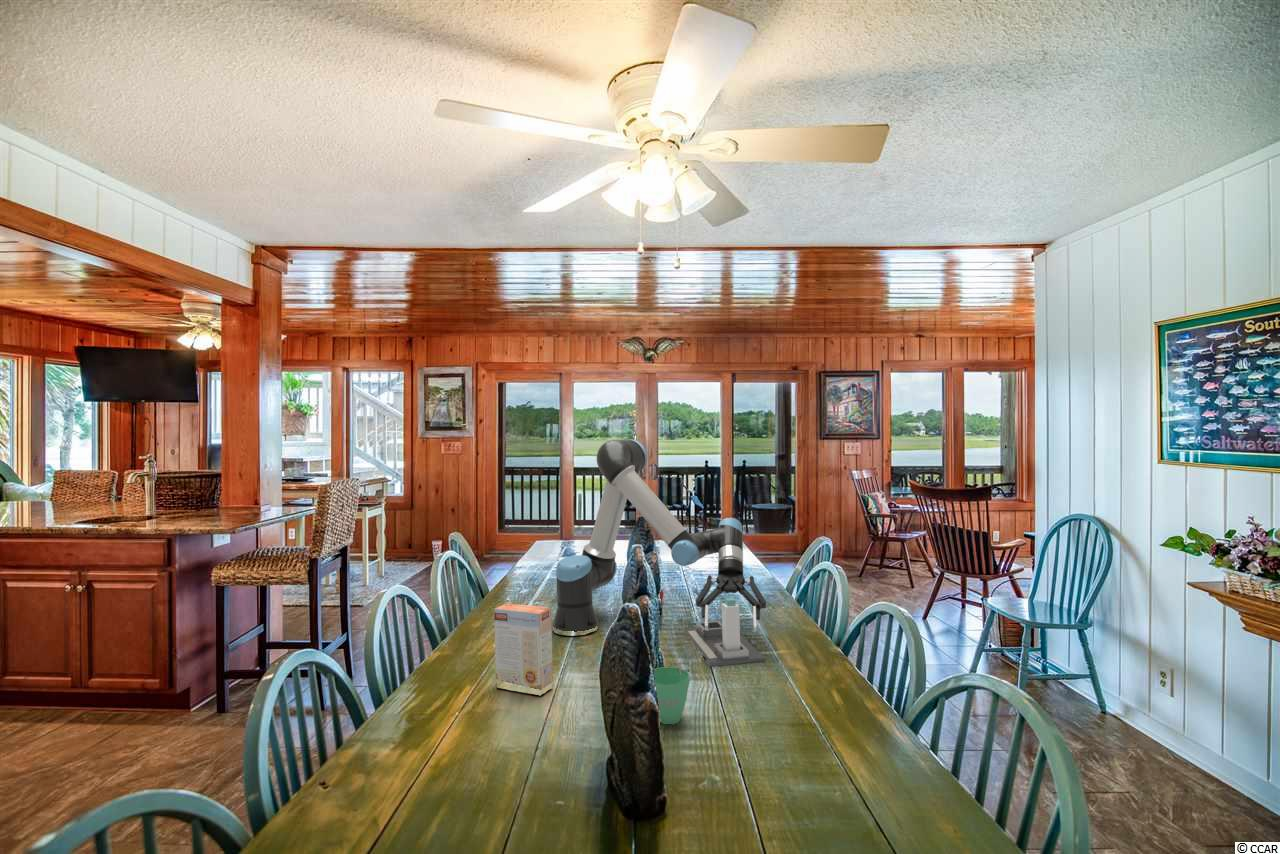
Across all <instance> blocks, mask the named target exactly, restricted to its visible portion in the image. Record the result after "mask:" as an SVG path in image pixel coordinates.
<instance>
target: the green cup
mask: <svg viewBox="0 0 1280 854" xmlns="http://www.w3.org/2000/svg"><path fill="white" fill-rule="evenodd" d="M653 670H654V677H655V685H656V691H657V698H658V704H659V708H660V719H661V724H662V723H663V725H666V724H672V725H676V724H678V723H679V722H680V720H681V718H682V715H683V712H684V709H685V705H686V701H687V697H688V692H689V690H688V689H689V687H690V686H689V685H690V681H691V675H690V672H688V671H687V670H686V669H683V668H682V669H681V672H680V670H679V668H678V667H677V666H675V667H674V666H673V667H672V666H663V667H657V668H654V669H653ZM677 722H678V723H677ZM675 723H676V724H675Z"/></svg>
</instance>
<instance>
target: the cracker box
mask: <svg viewBox="0 0 1280 854" xmlns="http://www.w3.org/2000/svg"><path fill="white" fill-rule="evenodd" d="M493 610H494V611H493V612H494V613H493V614H494V644H495V645H494V650H495V651H494V653H495V655H494V656H495V662H494V663H495V680H496V679H497V680H500V681H505V682H508V683H513V684H517V685H522V686H526V687H530V688H534V689H539V690H542V689H543V688H545V687H546V686H548V685H549V684H551V683H552V682H553V681H554V678H553V677H554V675H553V674H554V671H553V670H554V669H553V643H552V642H553V639H552V637H553V636H552V633H553V629H552V608H551V607H547V606H546V607H545V606H537V605H536V606H535V605H530V604H529V605H528V604H519V603H512V602H510V603H509V602H507V603H504V604H502V605H499V606H497V607H495V608H494V609H493ZM553 683H554V682H553Z"/></svg>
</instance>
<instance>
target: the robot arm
mask: <svg viewBox="0 0 1280 854" xmlns="http://www.w3.org/2000/svg"><path fill="white" fill-rule="evenodd" d="M647 462H648V453H647V450H646V448H645V447H644V445H643V444H642V443H641V442H639V441H638V440H635V439H630V438H624V439H611V440H607V441H606V442H604V443H603V444H601V446H600V447H599V449H598V450H597V453H596V465H597V466H598V469H599V471H600V473H601V474H602V476H603V477H604V478H605V479H606V481H605V483H604V484H605V485H604V489H603V491H602V497H601V500H600V504H599V507H598V510H597V513H596V519H595V523H594V524H593V525H594V526H593V528H592V533H591V536H590V541H589V543H587V544H585V545H583V549H582V552H581V554H577V555H576V554H575V555H571V556H566V557H564V558H562V559H560V560H558V562H557V564H556V571H555V577H556V601H557V602H556V604H557V605H556V610H555V611H556V612H555V615H554V617H553V621H552V625H553V627H554V628H556V629H559V630H562V631H574V632H577V631H585V630H589V629H592V628H595V627H596V626H597V625H598V626H599V620H598V618H597V614H596V612H595V609H594V605H593V591H596V590H597V589H599V588H602V587H605V586H607V584H609V583H610V582H611V581H612V580H613V579H614V577H615V576H616V574H617V569H618V568H617V562H616V556H617V554H616V551H615V550H614V547H615V544H616V542H617V541H616V540H617V536H618V532H619V529H620V525H621V523H622V522H621V521H622V519H623V515H624V511H625V507H626V504H627V501H629V502H630V503H631V505H632V506H633V507H634V508H635V510H637V512H638V513H639V514H640V515H641V517H643V518H644V520H645V521H646V522H647V523H648V525H649V526H650V527H651V528H652V529H653V530H654V531H655V533H656V534H657V536H659V537H660V538H661V540H662V541H663V542H664V543H665V545H667V547H668V548H669V549H670V554H671V559H672V561H673V562H674V563H675V564H676V565H678V566H681V567H687V566H689V565H693V564H695V563H696V562H697V561H699V560H701V559H702V558H704V557H706V556H708V555H713V554H717V553H718V557H717V558H718V566H717V567H718V568H717V570H718V571H717V577H713V576H712V575H711V574H710V575H708V576H707V578H706V579H707V580H706V583H705V584H704V586H703V587H702V589H701V591H700V592H699V594H698V595H697V597H696V599H695V606H696V608H697V607H699V608H701V618H702V619H704V622H705V630H708V622H709V617H710V616H709V612H710V611H709V610H710V609H709V606H710V604H712V603H713V602H714V601H715V600H716V598H717V597H719V596H720V595H721V594H722V593H723V592H725V594H726V593H727V594H728V593H733V594H736V593H739V594H740V595H742V597H743V598H744V599H745V600H746V601H747V602H748V603H749V604H751V606H752V611H753V614H752V617H753V633H757V630H758V629H757V621H759V620H761V610H762V609H766V608H767V601H766V599H765V598H764V597H763V594H762V593H761V591H760V590H759V588H758V586H757V584H756V582H755V577H754V576H753V575H750V576H749V577H744V565H743V564H744V550H743V548H744V546H743V545H744V544H743V543H744V533H743V525H742V522H740V520H738V519H736V518H733V517H726V518H723V519H722V520H721V521H719V523H718V527H717V528H716V527H715V528H714V529H710V530H705V531H701V532H693V533H689V532H688V530H687V529H686V528H685V527H684V526H683V525H682V524H681V522H680V521H679V520H678V518H676V517H675V516H674V514H673V513H672V512H671V511H670V510H669V508H668V507H667V506H666V505H665V504H664V503H663V501H662V500H661V499H660V498H659V497H658V495H656V493H654V491H653V490H652V489H651V487H650V486H648V484H647V483H646V482H645V481H644V480H643V478H641V476H640V475H639V473H640V472H641V471H642V470H643V469H644V468H645V467H646V465H647ZM715 583H716V584H717V585H716V587H715V588H714V589H713V590H712V592H710V589H711V588H712V586H714V585H715ZM745 584H747V586H748V587H750V589H751V591H752V593H753V594H754V596H755V597H756V598H755V597H754V596H753V595H752V594H751V592H749V590H747V588H746V587H745V586H744V585H745ZM708 593H709V594H708Z"/></svg>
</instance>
